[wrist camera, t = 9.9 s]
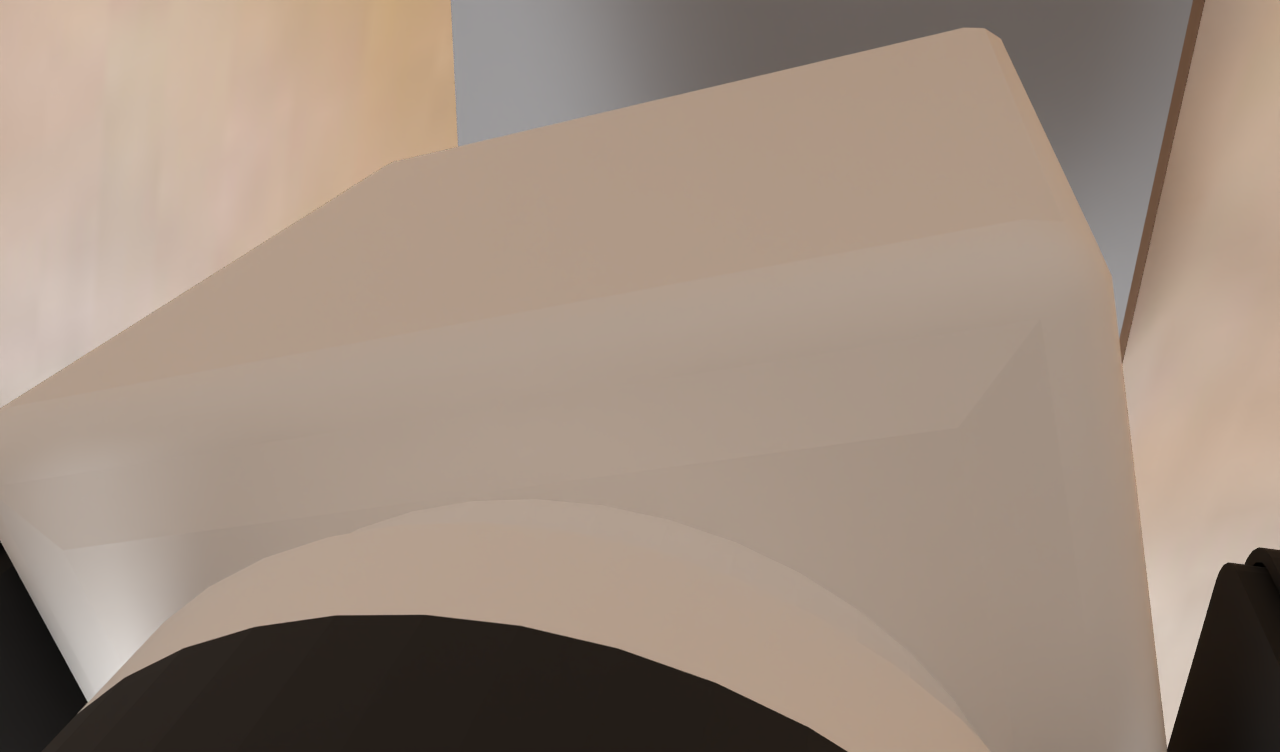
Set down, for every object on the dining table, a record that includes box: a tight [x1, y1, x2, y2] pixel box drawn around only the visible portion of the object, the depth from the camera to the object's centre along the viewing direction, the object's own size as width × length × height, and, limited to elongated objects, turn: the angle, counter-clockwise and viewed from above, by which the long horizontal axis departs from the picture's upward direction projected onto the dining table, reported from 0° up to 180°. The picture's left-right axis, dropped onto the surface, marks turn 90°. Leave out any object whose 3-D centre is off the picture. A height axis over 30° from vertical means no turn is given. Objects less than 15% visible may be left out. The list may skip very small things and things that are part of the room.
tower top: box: [451, 0, 1193, 339], centre depth 19 cm, size 10×10×4 cm
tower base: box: [1119, 0, 1205, 363], centre depth 22 cm, size 12×12×4 cm
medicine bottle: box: [0, 28, 1167, 752], centre depth 9 cm, size 7×7×12 cm
